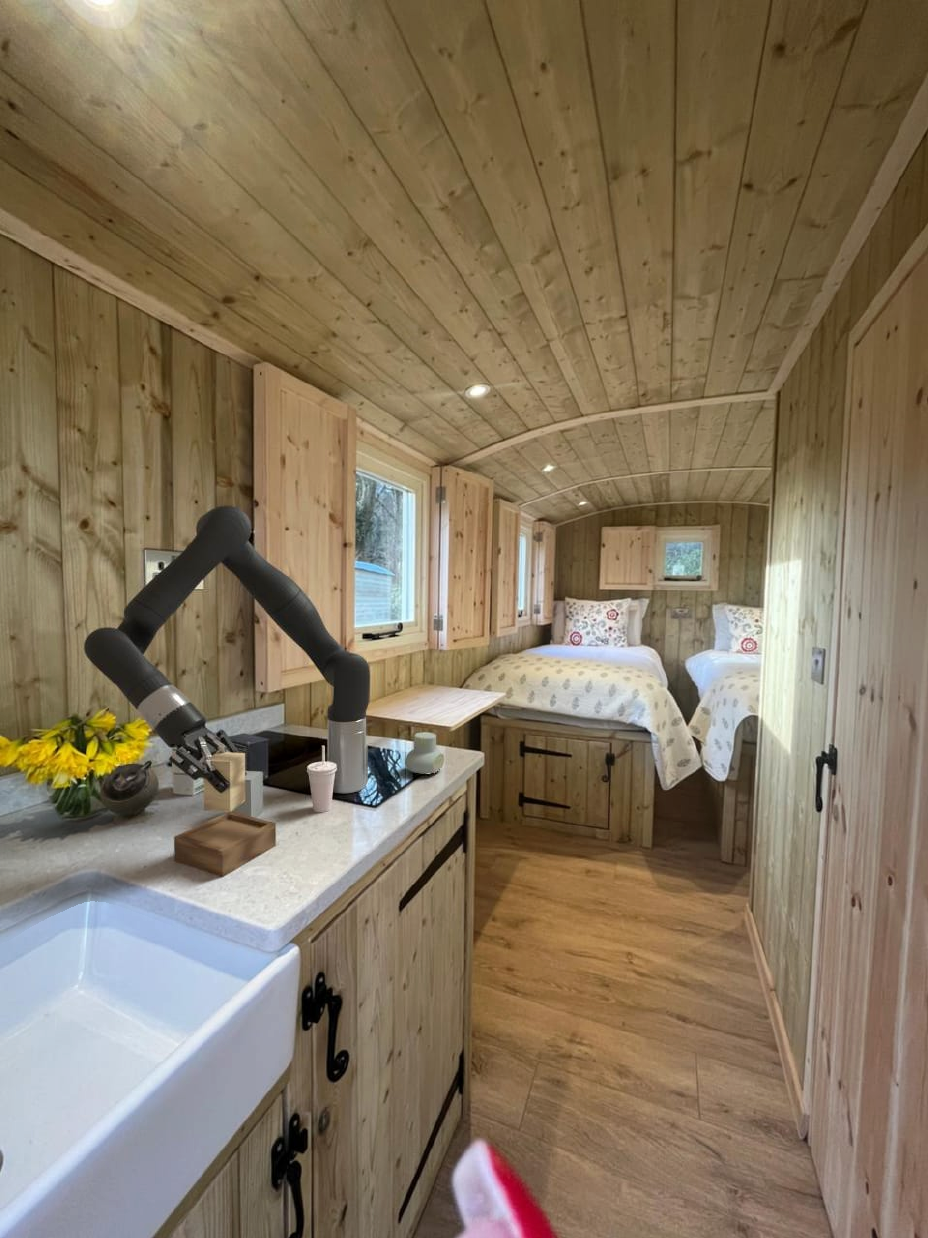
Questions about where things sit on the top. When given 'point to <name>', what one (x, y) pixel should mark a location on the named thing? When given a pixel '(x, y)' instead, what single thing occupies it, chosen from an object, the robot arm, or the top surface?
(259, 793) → the grey block
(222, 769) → the oak block
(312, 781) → the smoothie
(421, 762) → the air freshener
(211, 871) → the walnut tray
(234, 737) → the small box
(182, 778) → the syrup box
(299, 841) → the top surface
